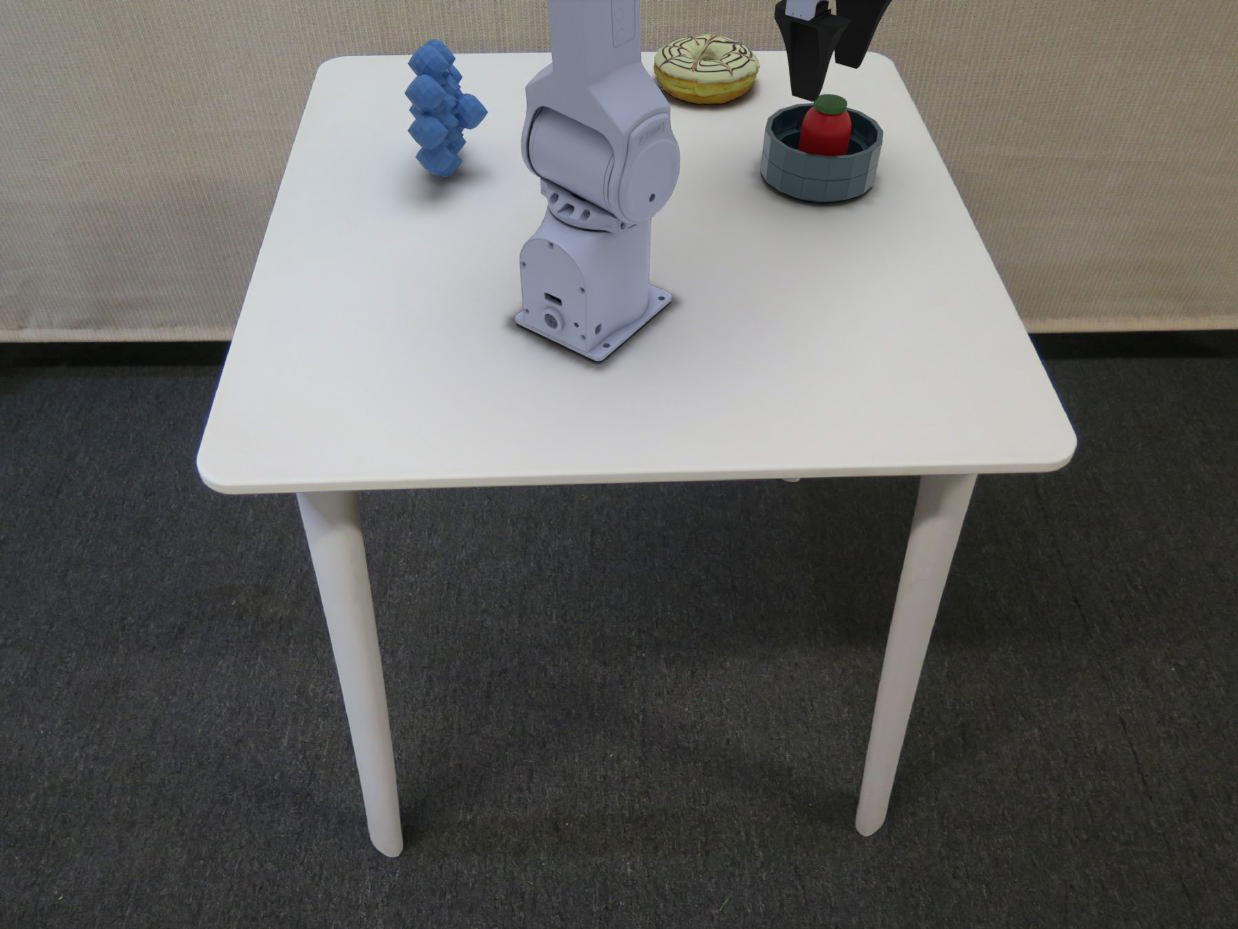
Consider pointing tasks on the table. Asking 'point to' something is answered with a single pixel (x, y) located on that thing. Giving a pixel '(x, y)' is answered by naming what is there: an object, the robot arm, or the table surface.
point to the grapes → (440, 108)
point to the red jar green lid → (826, 127)
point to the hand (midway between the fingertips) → (826, 80)
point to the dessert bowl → (819, 158)
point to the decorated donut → (705, 68)
